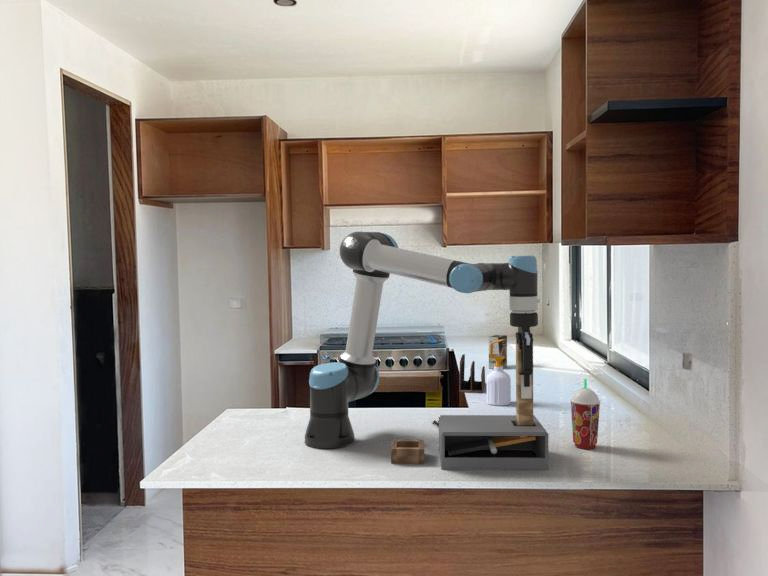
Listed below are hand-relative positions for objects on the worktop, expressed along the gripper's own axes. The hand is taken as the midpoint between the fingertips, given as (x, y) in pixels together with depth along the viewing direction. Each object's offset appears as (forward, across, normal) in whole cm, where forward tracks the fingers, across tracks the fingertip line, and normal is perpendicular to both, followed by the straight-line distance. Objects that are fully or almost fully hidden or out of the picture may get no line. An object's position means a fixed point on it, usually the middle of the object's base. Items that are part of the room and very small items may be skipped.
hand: (524, 396), depth 179 cm
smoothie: (+18, +12, -19) cm, 29 cm away
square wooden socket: (+17, 0, +33) cm, 37 cm away
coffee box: (+17, +147, -11) cm, 149 cm away
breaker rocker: (+13, 0, +10) cm, 16 cm away
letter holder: (+18, +97, +6) cm, 99 cm away
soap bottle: (+18, +68, -1) cm, 70 cm away
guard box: (+17, 0, +10) cm, 20 cm away
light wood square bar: (+10, 0, 0) cm, 10 cm away
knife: (+18, +29, +21) cm, 40 cm away
